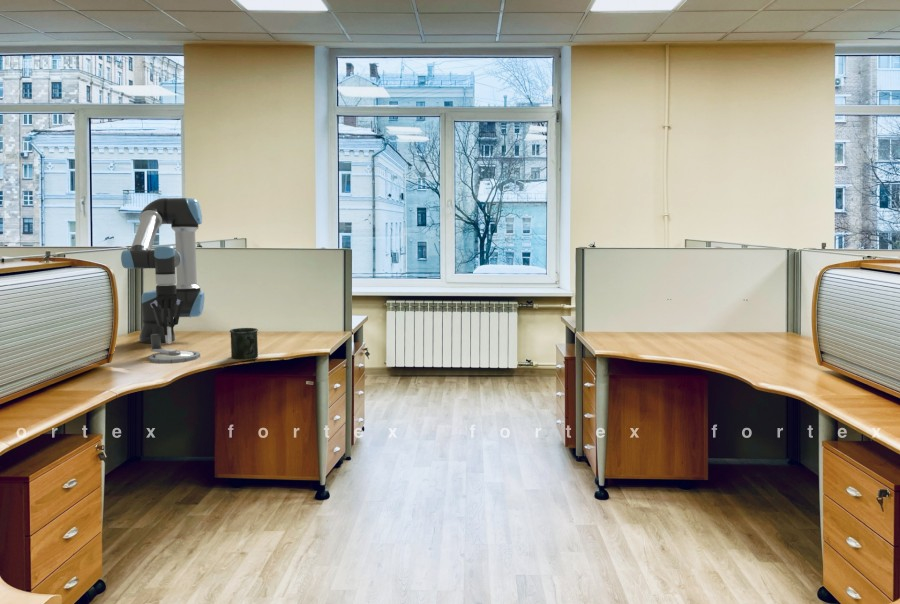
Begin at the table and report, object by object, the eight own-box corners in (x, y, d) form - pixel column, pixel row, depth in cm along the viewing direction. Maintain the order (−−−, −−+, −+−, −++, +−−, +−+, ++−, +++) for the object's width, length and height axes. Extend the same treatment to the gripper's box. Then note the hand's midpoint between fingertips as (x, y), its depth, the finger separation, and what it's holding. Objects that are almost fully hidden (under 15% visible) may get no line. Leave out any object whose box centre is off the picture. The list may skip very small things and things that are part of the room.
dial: (201, 356, 280) (200, 335, 279) (171, 362, 268) (170, 341, 267) (168, 352, 290) (167, 331, 289) (138, 357, 278) (137, 336, 277)
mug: (252, 356, 288) (251, 326, 287) (267, 361, 277) (266, 331, 275) (226, 359, 281) (225, 329, 280) (240, 365, 270) (238, 334, 269)
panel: (126, 367, 265) (126, 361, 265) (155, 354, 291) (155, 348, 291) (196, 367, 265) (195, 361, 265) (218, 354, 291) (218, 349, 291)
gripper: (178, 283, 291) (181, 339, 293) (145, 285, 282) (148, 343, 285) (185, 284, 285) (188, 342, 288) (152, 286, 276) (155, 346, 279)
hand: (168, 342), depth 286 cm, fingers closed
